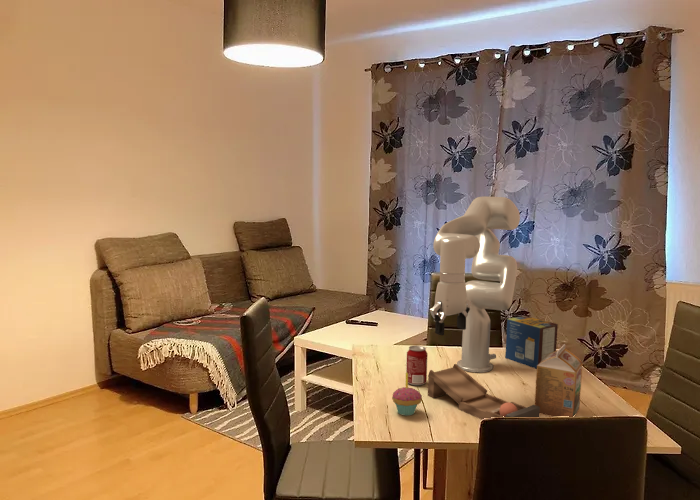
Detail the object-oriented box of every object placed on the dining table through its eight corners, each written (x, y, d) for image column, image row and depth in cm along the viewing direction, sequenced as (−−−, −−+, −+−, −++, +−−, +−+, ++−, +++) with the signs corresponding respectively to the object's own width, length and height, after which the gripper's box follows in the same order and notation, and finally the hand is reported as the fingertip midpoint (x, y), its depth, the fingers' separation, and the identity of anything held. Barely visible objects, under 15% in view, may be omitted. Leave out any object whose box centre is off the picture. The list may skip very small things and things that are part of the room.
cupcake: (389, 406, 168) (390, 367, 166) (418, 406, 168) (419, 367, 167) (394, 418, 159) (395, 377, 158) (424, 418, 160) (425, 377, 158)
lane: (426, 395, 177) (427, 369, 176) (453, 387, 184) (454, 362, 183) (511, 433, 151) (512, 403, 150) (538, 422, 159) (540, 393, 158)
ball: (504, 403, 163) (517, 398, 160) (511, 420, 162) (524, 416, 158) (493, 406, 160) (506, 402, 157) (499, 424, 159) (513, 420, 155)
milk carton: (572, 420, 160) (576, 355, 158) (534, 412, 166) (538, 349, 163) (579, 408, 169) (583, 346, 167) (543, 400, 175) (546, 340, 172)
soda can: (425, 387, 184) (426, 351, 182) (404, 385, 185) (405, 350, 184) (427, 380, 190) (428, 345, 189) (406, 378, 192) (408, 344, 190)
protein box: (522, 354, 223) (524, 315, 221) (555, 364, 210) (558, 324, 208) (504, 358, 217) (506, 318, 215) (537, 369, 204) (540, 327, 202)
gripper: (462, 272, 182) (460, 324, 184) (423, 279, 171) (422, 333, 174) (480, 276, 176) (478, 329, 178) (441, 283, 166) (439, 339, 168)
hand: (450, 331), depth 176 cm, fingers open, 9 cm apart
